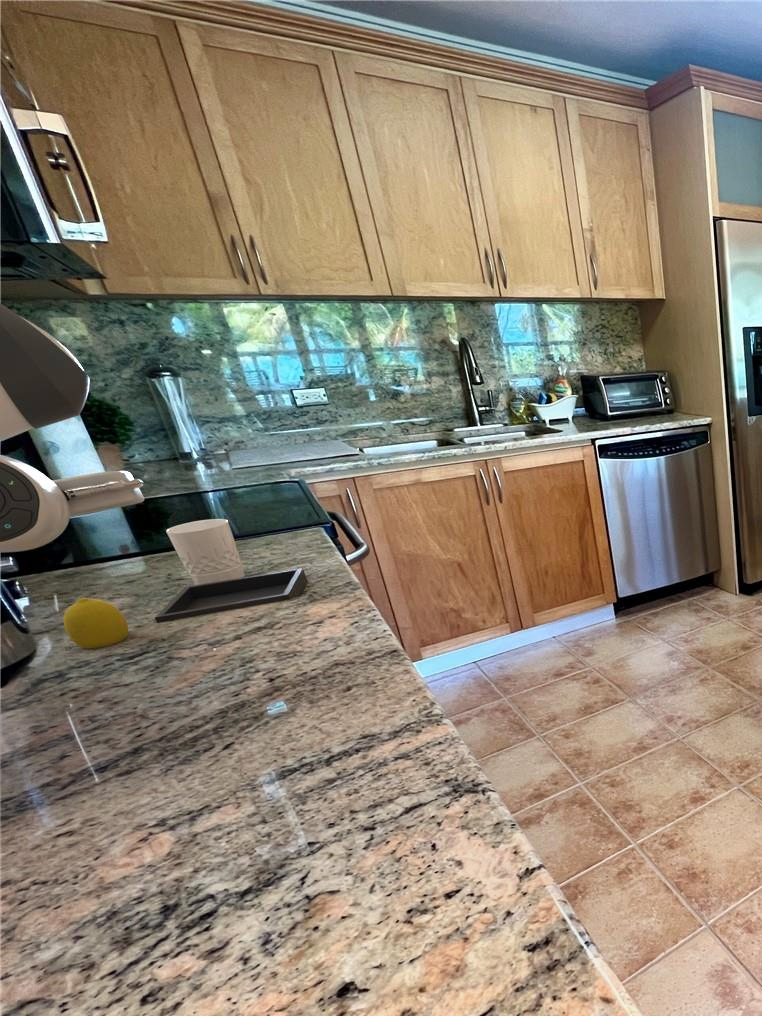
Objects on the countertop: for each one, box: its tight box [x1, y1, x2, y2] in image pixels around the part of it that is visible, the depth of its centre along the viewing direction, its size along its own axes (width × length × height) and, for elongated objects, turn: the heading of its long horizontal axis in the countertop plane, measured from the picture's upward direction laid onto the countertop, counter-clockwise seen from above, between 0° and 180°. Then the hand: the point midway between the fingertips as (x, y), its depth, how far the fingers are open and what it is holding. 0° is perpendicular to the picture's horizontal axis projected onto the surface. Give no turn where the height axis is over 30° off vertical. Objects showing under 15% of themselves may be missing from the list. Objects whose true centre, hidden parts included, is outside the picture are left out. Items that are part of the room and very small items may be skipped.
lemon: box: [62, 597, 129, 650], centre depth 85 cm, size 6×6×8 cm
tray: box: [154, 567, 308, 624], centre depth 100 cm, size 16×14×2 cm
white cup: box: [165, 518, 246, 585], centre depth 109 cm, size 8×8×10 cm
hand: (18, 512), depth 72 cm, fingers open, 8 cm apart
